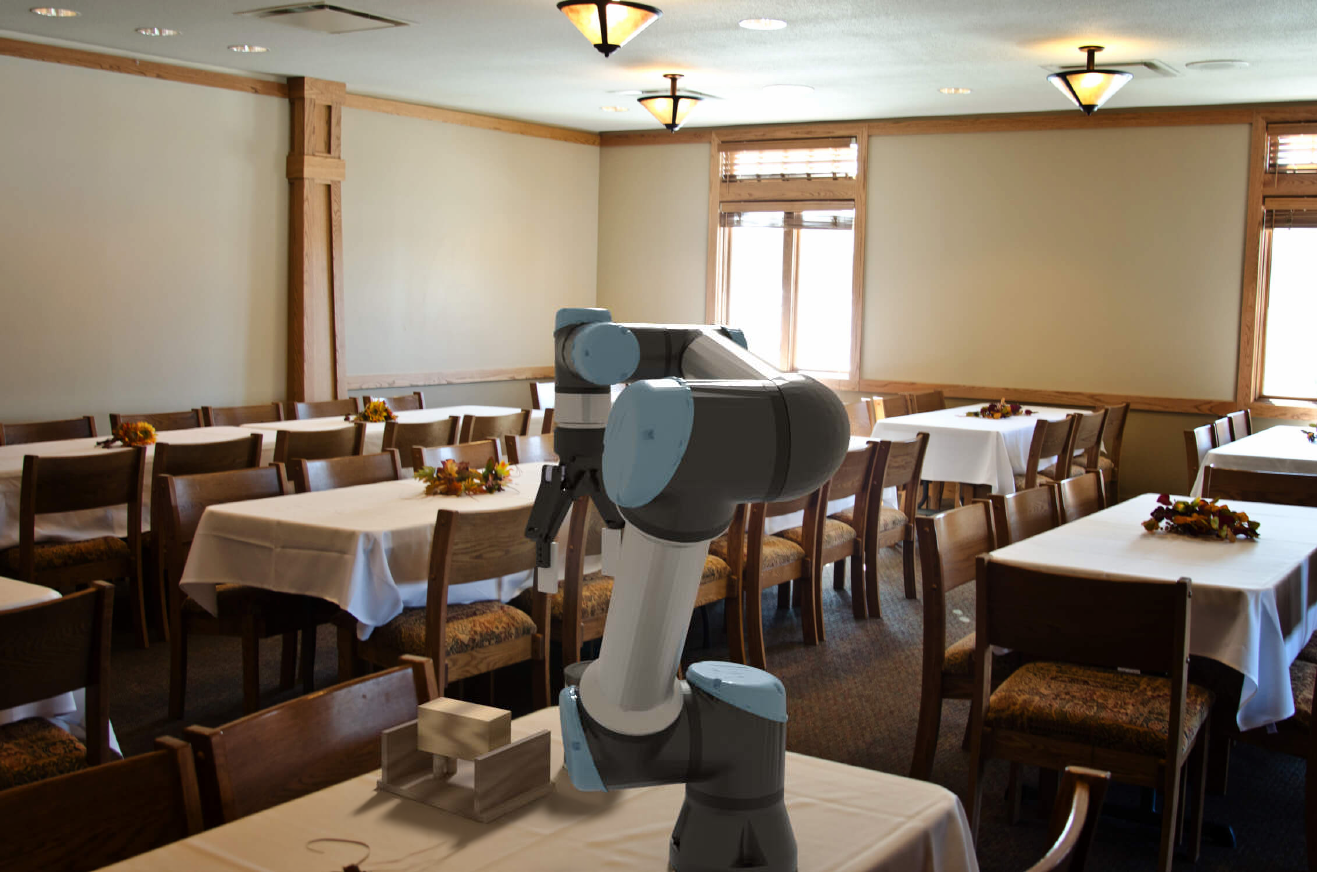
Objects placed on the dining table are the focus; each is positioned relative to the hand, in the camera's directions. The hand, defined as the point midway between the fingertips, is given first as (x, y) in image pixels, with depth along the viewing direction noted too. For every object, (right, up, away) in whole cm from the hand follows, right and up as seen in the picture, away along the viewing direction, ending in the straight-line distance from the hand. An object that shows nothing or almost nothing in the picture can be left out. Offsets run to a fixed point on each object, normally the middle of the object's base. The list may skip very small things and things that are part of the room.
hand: (580, 583), depth 157 cm
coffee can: (+2, -28, +13) cm, 31 cm away
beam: (-16, -23, +3) cm, 28 cm away
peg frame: (-16, -28, +3) cm, 33 cm away
